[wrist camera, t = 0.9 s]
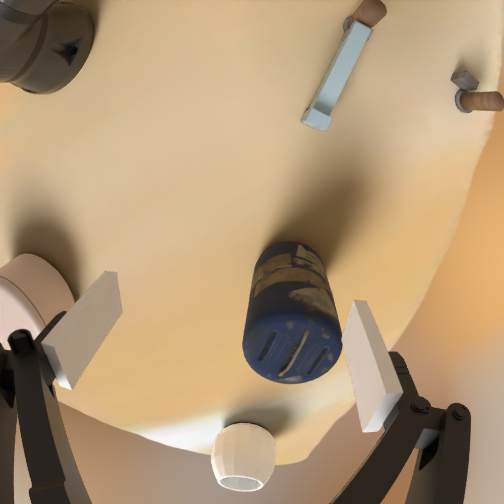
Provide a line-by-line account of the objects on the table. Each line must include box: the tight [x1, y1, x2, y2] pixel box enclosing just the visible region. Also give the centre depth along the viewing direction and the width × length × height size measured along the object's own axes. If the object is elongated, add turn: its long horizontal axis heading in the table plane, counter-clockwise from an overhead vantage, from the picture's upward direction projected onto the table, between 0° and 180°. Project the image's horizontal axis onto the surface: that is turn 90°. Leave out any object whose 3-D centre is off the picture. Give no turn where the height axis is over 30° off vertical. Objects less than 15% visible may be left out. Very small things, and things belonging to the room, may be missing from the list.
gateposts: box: [343, 0, 504, 113], centre depth 25 cm, size 21×4×8 cm, turn 66°
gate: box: [300, 20, 373, 131], centre depth 28 cm, size 13×2×8 cm, turn 156°
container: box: [0, 253, 75, 350], centre depth 42 cm, size 18×18×12 cm
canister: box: [242, 242, 343, 384], centre depth 34 cm, size 10×10×18 cm
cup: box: [211, 423, 276, 491], centre depth 52 cm, size 13×13×14 cm
